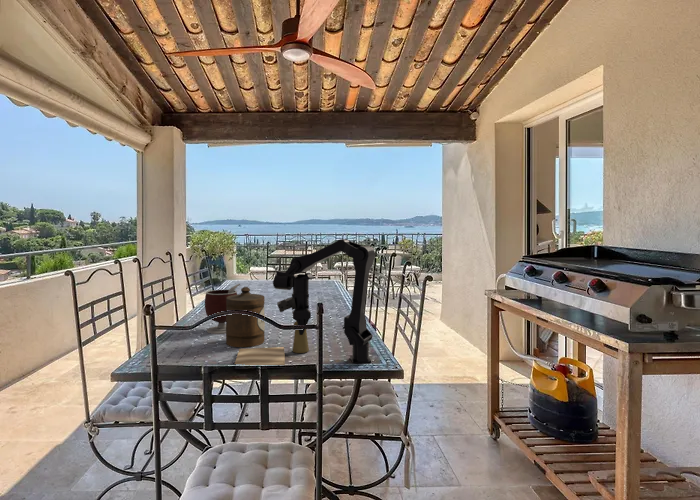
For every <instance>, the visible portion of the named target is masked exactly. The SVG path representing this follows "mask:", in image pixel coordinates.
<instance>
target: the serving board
mask: <svg viewBox="0 0 700 500" xmlns="http://www.w3.org/2000/svg"><path fill="white" fill-rule="evenodd" d="M285 359H286V358H285V347H284V346H281V347H280V346H279V347H278V346H277V347H254V348H253V347H252V348H250V347H248V348H239V349H238V352H237V356H236V358H235V361H234V364H242V365H243V364H245V365H285V364H286V363H285V361H286V360H285ZM285 366H286V365H285Z"/></svg>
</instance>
